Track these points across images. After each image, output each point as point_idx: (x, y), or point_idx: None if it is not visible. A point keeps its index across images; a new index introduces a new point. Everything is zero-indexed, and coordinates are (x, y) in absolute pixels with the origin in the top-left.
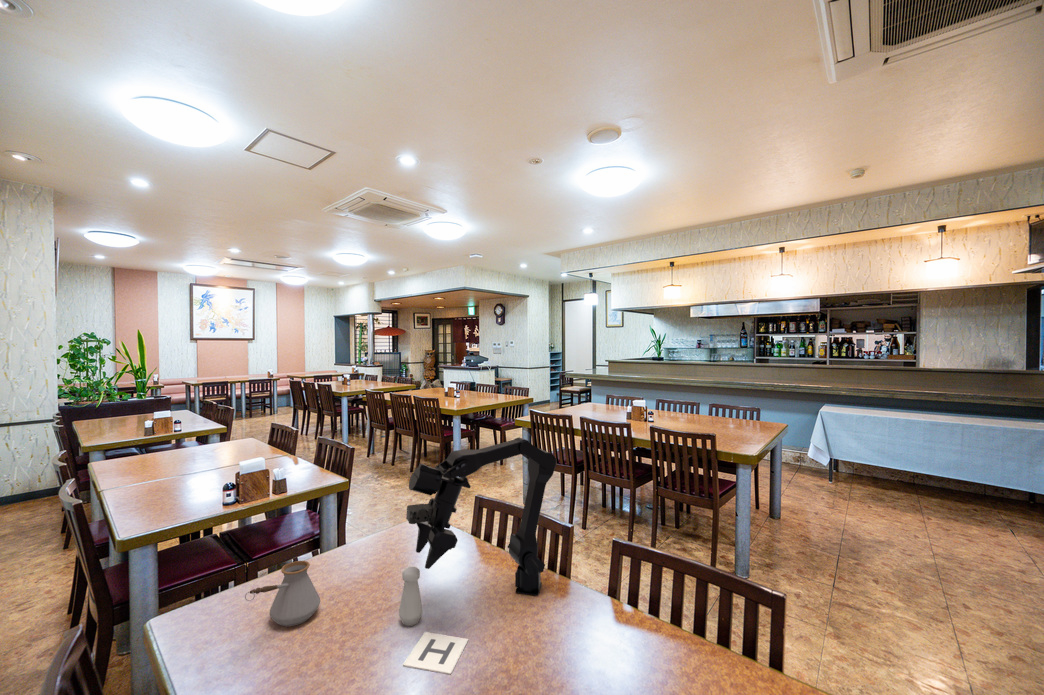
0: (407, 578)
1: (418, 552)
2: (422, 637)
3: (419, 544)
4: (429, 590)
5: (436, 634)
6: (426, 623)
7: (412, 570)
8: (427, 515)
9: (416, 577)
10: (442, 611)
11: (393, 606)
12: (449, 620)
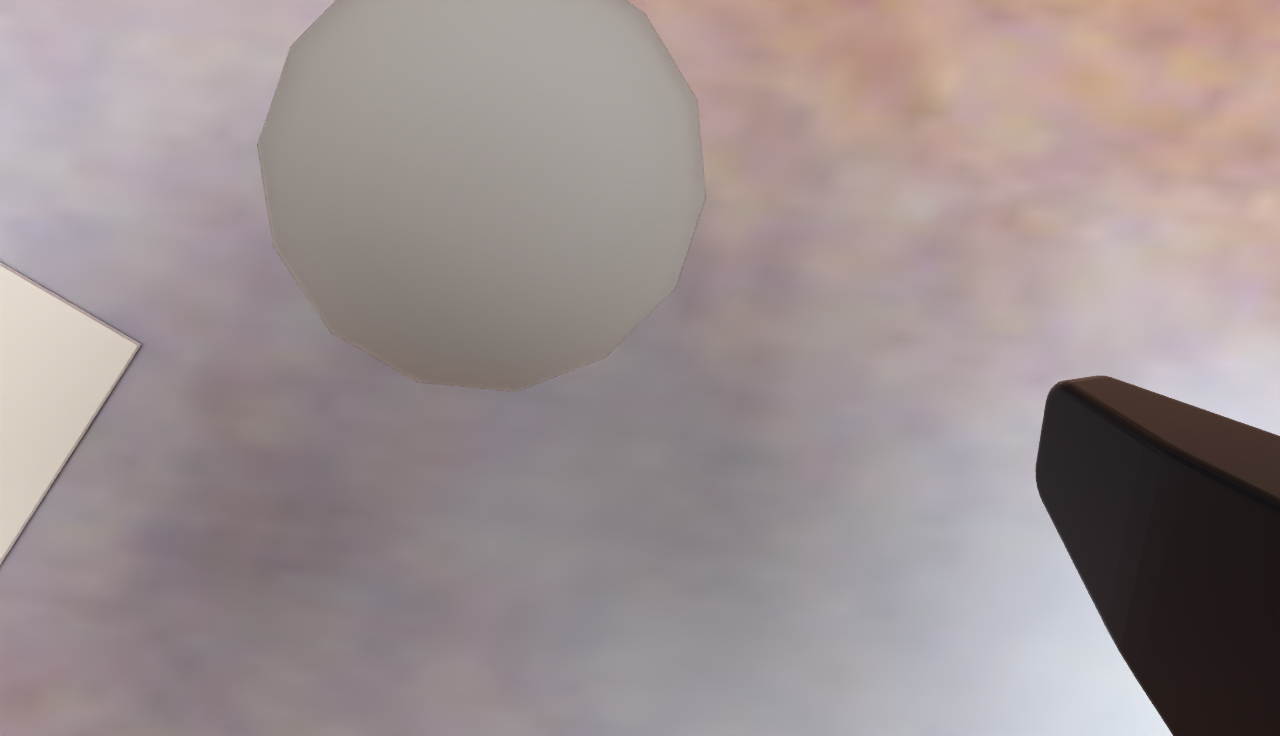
0: (288, 55)
1: (1042, 452)
2: (32, 301)
3: (1215, 548)
4: (1030, 504)
5: (38, 477)
6: (344, 385)
7: (420, 195)
8: None
9: (301, 286)
10: (527, 606)
11: (849, 24)
12: (311, 665)
